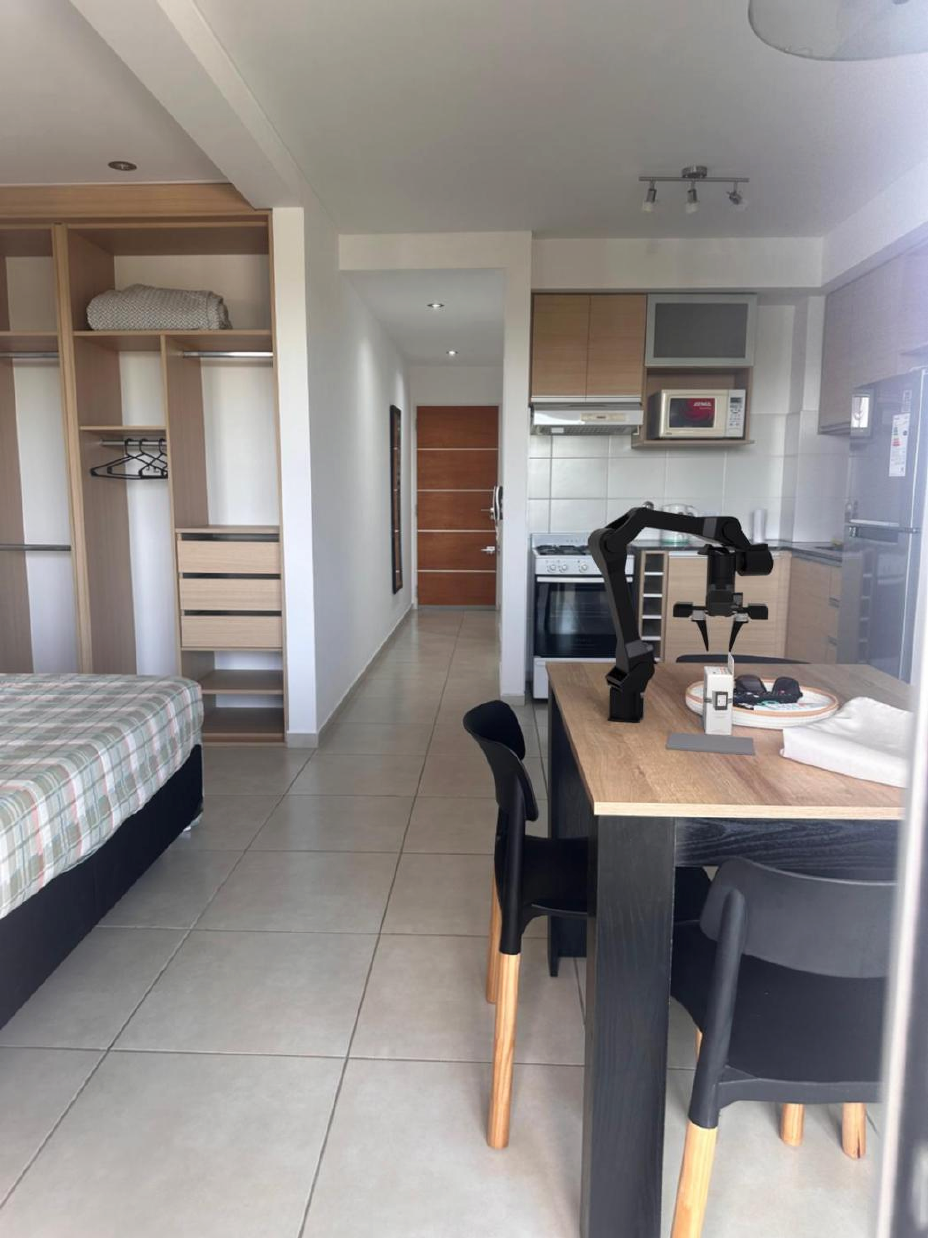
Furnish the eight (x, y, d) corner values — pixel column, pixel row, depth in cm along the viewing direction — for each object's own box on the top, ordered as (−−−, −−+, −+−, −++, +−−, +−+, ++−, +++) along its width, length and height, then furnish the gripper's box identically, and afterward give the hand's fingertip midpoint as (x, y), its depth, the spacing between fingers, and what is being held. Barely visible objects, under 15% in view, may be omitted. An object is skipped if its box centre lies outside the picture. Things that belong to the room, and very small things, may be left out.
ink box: (701, 723, 167) (703, 650, 165) (727, 724, 166) (729, 651, 164) (705, 734, 158) (707, 658, 156) (732, 736, 157) (734, 659, 155)
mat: (666, 749, 149) (666, 746, 149) (669, 734, 159) (669, 732, 159) (754, 755, 145) (754, 753, 145) (752, 740, 155) (752, 737, 154)
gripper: (672, 579, 167) (670, 656, 169) (771, 581, 161) (768, 660, 163) (675, 575, 177) (673, 647, 179) (768, 576, 172) (765, 651, 174)
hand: (718, 651), depth 174 cm, fingers open, 4 cm apart
